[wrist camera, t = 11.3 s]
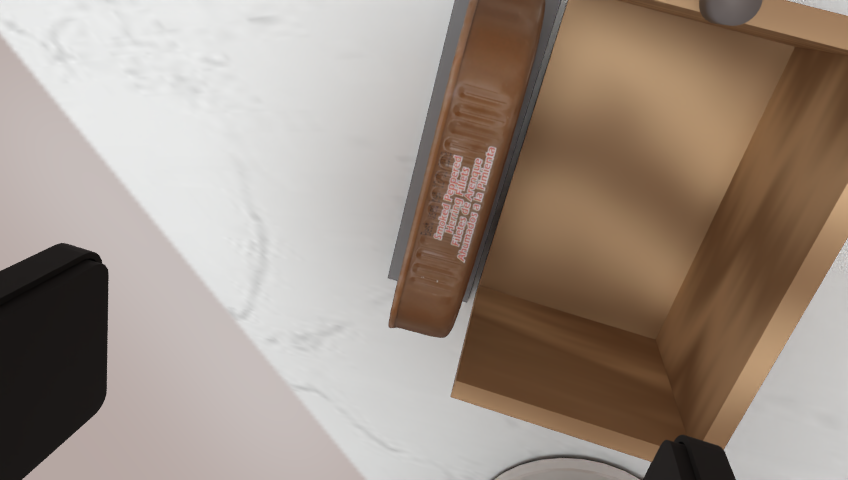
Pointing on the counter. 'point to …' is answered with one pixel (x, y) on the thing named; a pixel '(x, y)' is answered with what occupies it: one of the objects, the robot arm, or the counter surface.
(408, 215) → the flat grey bar
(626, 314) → the cabinet carcass
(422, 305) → the tin
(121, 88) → the counter surface
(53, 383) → the robot arm
